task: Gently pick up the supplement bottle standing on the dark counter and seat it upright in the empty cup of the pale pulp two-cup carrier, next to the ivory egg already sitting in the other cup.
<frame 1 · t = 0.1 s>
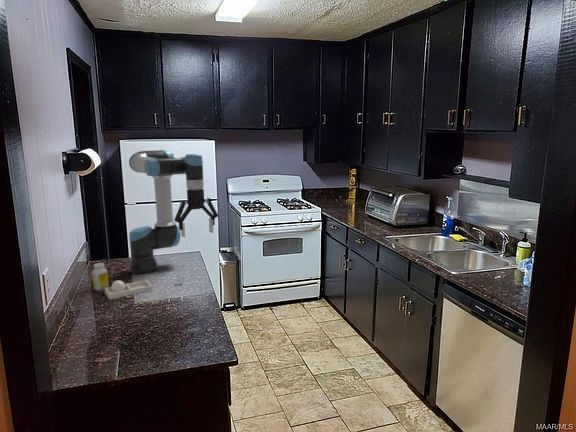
hand: (197, 234, 194), 28 cm above the counter, fingers open, 13 cm apart
ivory egg: (118, 293, 196), point 1 cm above the counter, touching carrier
carrier: (129, 292, 199), on the counter
supplement bottle: (101, 290, 204), on the counter
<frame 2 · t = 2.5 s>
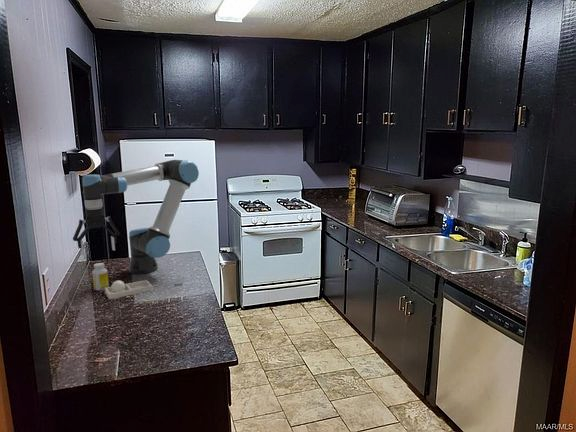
hand: (98, 252, 200), 19 cm above the counter, fingers open, 13 cm apart
nothing on the counter moved.
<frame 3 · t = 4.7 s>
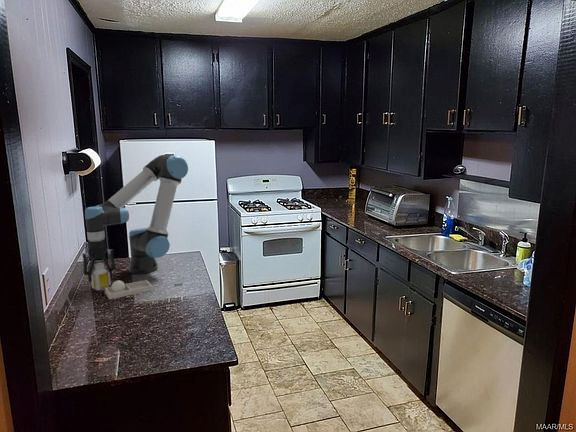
hand: (101, 285, 203), 2 cm above the counter, fingers closed on supplement bottle, 7 cm apart
supplement bottle: (101, 290, 204), on the counter, touching gripper
everything else where it was.
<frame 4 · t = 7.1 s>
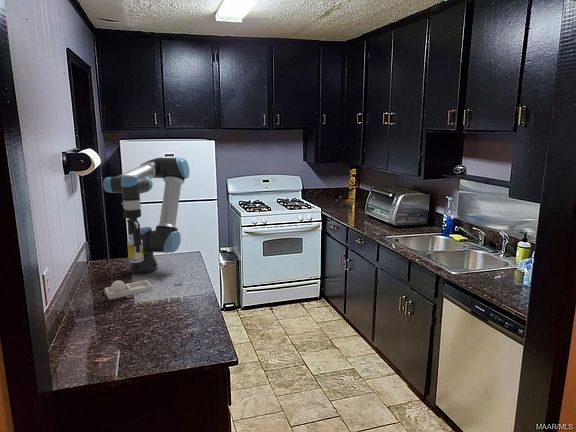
hand: (136, 256, 198), 17 cm above the counter, fingers closed on supplement bottle, 7 cm apart
supplement bottle: (136, 261, 199), point 15 cm above the counter, touching gripper
everything else where it was.
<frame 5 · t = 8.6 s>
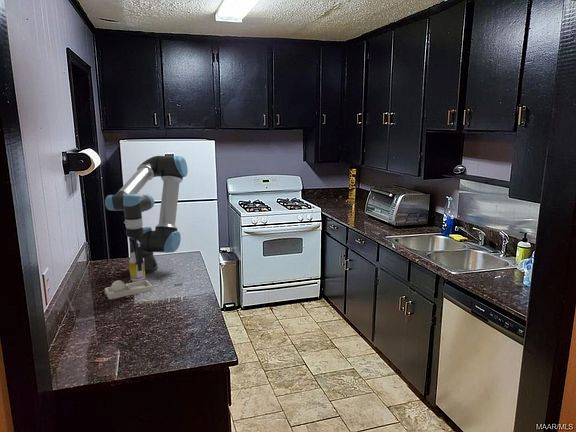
hand: (137, 274, 200), 8 cm above the counter, fingers closed on supplement bottle, 7 cm apart
supplement bottle: (138, 279, 200), point 6 cm above the counter, touching gripper
everything else where it was.
when the fingers open (5 cm above the counter, at t = 9.6 s): supplement bottle drops 2 cm, resting on carrier.
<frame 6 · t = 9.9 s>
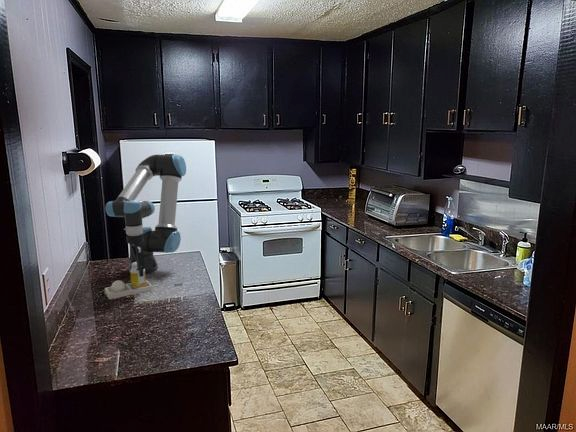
hand: (138, 279, 201), 6 cm above the counter, fingers open, 10 cm apart
supplement bottle: (139, 289, 202), point 1 cm above the counter, touching carrier
everything else where it was.
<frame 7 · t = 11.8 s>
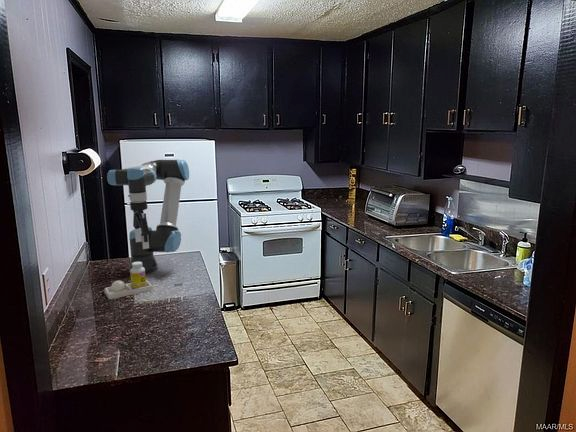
hand: (142, 245, 201), 22 cm above the counter, fingers open, 13 cm apart
nothing on the counter moved.
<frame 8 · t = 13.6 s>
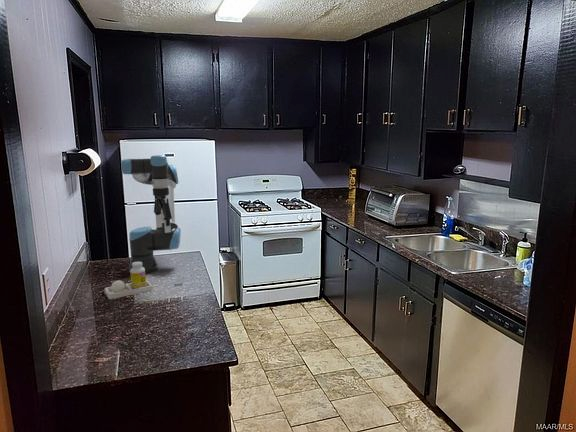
hand: (163, 229, 210), 27 cm above the counter, fingers open, 13 cm apart
nothing on the counter moved.
at the end: supplement bottle inside the target area (0.2 cm from its centre), point 0.8 cm above the counter; supplement bottle tilted 0°; the gripper is holding nothing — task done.
